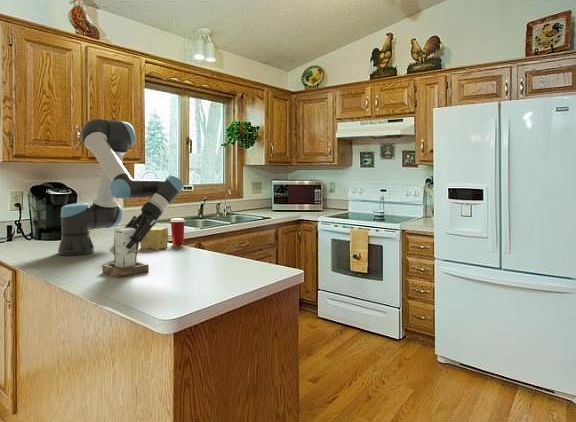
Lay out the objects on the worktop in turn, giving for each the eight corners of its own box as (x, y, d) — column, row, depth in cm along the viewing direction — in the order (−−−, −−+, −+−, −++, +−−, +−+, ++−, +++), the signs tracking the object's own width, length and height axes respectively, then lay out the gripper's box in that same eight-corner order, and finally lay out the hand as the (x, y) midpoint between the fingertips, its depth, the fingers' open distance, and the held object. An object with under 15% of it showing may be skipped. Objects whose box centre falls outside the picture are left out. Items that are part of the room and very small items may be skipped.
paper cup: (188, 244, 216) (187, 218, 215) (179, 246, 209) (179, 219, 208) (175, 243, 219) (175, 217, 218) (167, 245, 212) (166, 219, 211)
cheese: (158, 249, 199) (158, 229, 199) (139, 248, 202) (138, 229, 201) (168, 246, 210) (168, 227, 209) (150, 245, 212) (149, 226, 211)
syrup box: (127, 264, 155) (126, 227, 154) (137, 266, 152) (136, 228, 150) (114, 266, 150) (113, 228, 149) (123, 268, 147) (122, 229, 146)
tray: (102, 272, 150) (102, 264, 150) (132, 267, 159) (132, 260, 159) (118, 278, 143) (118, 269, 142) (148, 272, 152) (148, 264, 152)
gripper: (174, 215, 155) (136, 263, 144) (148, 212, 167) (110, 256, 156) (162, 202, 150) (121, 250, 139) (136, 200, 163) (96, 244, 151)
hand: (116, 253), depth 148 cm, fingers closed on syrup box, 6 cm apart
